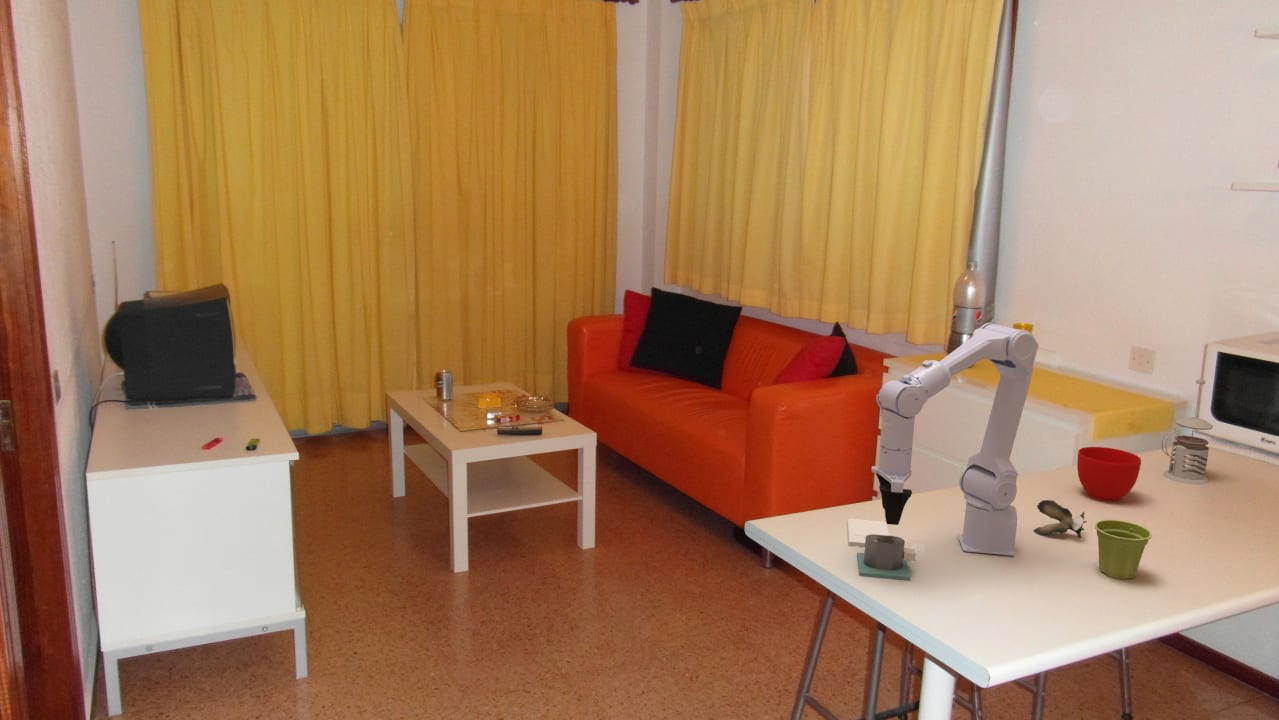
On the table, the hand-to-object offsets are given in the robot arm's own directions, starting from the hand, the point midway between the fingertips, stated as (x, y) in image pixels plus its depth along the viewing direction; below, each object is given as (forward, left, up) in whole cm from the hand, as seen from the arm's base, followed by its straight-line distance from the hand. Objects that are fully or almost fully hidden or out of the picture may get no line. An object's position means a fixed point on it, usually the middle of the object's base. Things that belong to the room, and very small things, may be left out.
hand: (890, 516), depth 172 cm
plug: (+1, +2, -9) cm, 9 cm away
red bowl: (-53, -52, -10) cm, 75 cm away
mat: (+1, +2, -9) cm, 10 cm away
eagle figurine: (-36, -23, -10) cm, 44 cm away
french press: (-76, -70, -10) cm, 104 cm away
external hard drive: (+3, -13, -10) cm, 16 cm away
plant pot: (-42, -6, -10) cm, 44 cm away
